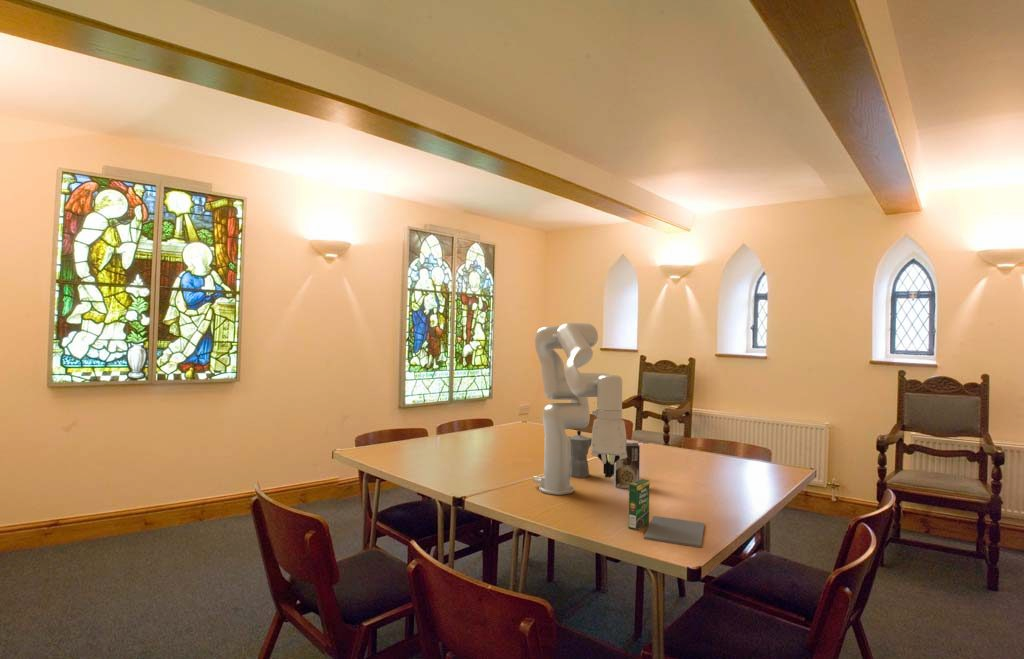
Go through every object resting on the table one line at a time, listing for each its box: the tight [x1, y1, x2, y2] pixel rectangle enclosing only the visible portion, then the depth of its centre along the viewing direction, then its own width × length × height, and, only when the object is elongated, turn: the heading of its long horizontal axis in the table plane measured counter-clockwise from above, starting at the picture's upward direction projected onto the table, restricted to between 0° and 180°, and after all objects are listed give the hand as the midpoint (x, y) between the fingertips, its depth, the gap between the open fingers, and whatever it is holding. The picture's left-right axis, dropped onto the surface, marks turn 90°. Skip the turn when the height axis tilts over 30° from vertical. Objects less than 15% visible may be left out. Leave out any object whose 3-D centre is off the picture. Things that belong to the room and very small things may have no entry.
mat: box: [643, 515, 706, 548], centre depth 158 cm, size 15×20×1 cm
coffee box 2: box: [628, 478, 650, 531], centre depth 162 cm, size 8×3×13 cm, turn 138°
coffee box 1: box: [613, 441, 641, 489], centre depth 207 cm, size 9×6×16 cm
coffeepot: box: [567, 430, 592, 479], centre depth 223 cm, size 15×9×18 cm, turn 94°
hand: (608, 476), depth 165 cm, fingers closed
